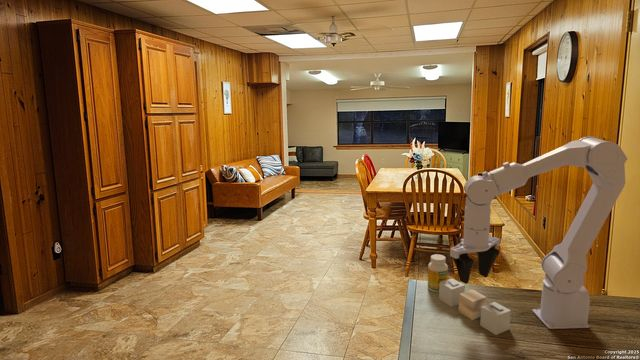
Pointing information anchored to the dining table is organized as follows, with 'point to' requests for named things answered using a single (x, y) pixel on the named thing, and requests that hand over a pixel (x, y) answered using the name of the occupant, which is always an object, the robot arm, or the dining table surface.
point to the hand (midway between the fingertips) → (473, 278)
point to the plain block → (471, 304)
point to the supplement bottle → (437, 272)
